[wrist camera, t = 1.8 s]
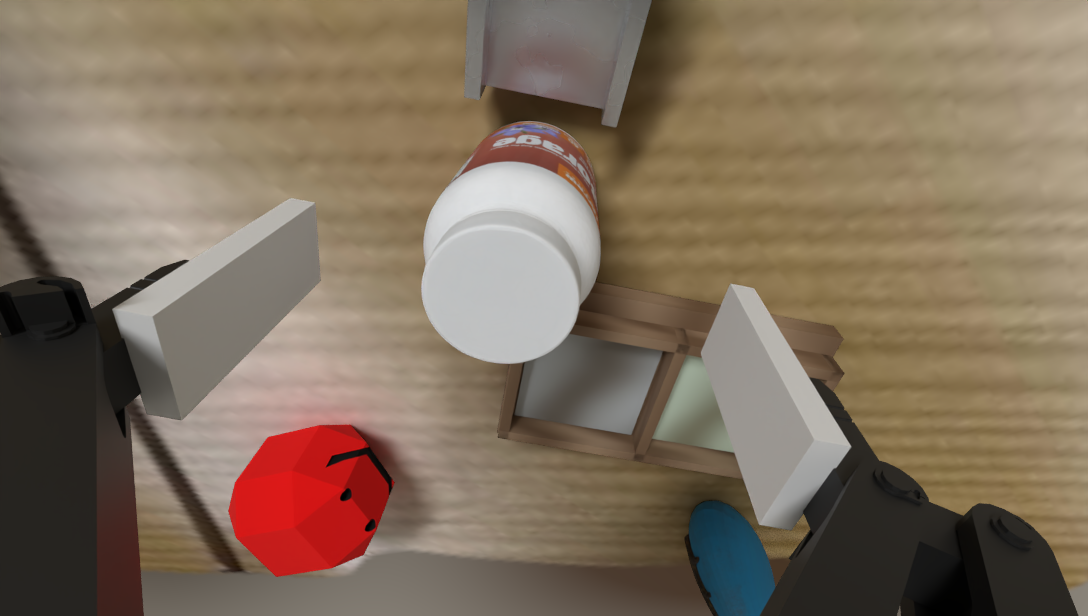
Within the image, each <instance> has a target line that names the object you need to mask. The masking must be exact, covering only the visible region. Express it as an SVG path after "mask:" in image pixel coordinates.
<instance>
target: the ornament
mask: <svg viewBox="0 0 1088 616" xmlns="http://www.w3.org/2000/svg"><path fill="white" fill-rule="evenodd" d="M685 544H686V548H687V552H688V556H689V560H690V564H691V567H692V570H693V573H694V576H695V579H696V581H697V584H698V586H699V588H700V591H701V593H702V595H703V597H704V599H705V601H706V603H707V605H708V607H709V609H710V611H711V612H712V614H713V615H714V616H760V614H761V612H762V610H763V609H764V607H765V605H766V603H767V602H768V600H769V598H770V596H771V595H772V593H773V591H774V589H775V583H774V578H773V574H772V570H771V566H770V563H769V560H768V557H767V555H766V552H765V550H764V548H763V545H762V543H761V541H760V539H759V538H758V536H757V534H756V533H755V531H754V530H753V528H752V527H751V525H750V524H749V522H748V521H747V520H746V519H745V518H744V517H743V516H742V515H741V514H739V513H738V512H737V511H736V510H735V509H734V508H732V507H731V506H730V505H728V504H725V503H723V502H720V501H705V502H702V503H701V504H699V505H697V506H696V508H695V509H694V511H693V513H692V514H691V519H690V523H689V534H688V535H686V536H685Z"/></svg>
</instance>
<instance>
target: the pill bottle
mask: <svg viewBox="0 0 1088 616" xmlns="http://www.w3.org/2000/svg"><path fill="white" fill-rule="evenodd" d="M423 246H424V257H425V263H426V266H425V270H424V274H423V278H422V287H421V289H422V299H423V304H424V307H425V310H426V313H427V316H428V318H429V320H430V322H431V323H432V325H433V326H434V328H435V329H436V331H437V332H438V333H439V334H440V335H441V336H442V337H443V338H444V339H445V340H446V341H447V342H448V343H449V344H451V345H452V346H453V347H455V348H456V349H458V350H459V351H461V352H463V353H465V354H466V355H469V356H471V357H474V358H477V359H480V360H483V361H487V362H493V363H502V364H513V363H522V362H526V361H531V360H533V359H536V358H539V357H541V356H543V355H545V354H547V353H549V352H550V351H552V350H553V349H555V348H556V347H557V346H558V345H560V344H561V343H562V342H563V340H564V339H565V338H566V337H567V336H568V334H569V333H570V332H571V330H572V328H573V326H574V324H575V322H576V319H577V316H578V312H579V307H580V305H581V304H582V302H583V301H584V300H585V299H586V297H587V296H588V294H589V293H590V291H591V289H592V287H593V285H594V283H595V281H596V278H597V275H598V271H599V267H600V257H601V241H600V228H599V218H598V208H597V194H596V181H595V175H594V171H593V168H592V164H591V162H590V160H589V158H588V156H587V154H586V152H585V151H584V149H583V148H582V147H581V145H580V144H579V143H578V142H577V141H576V140H575V139H574V138H573V137H572V136H570V135H569V134H568V133H566V132H565V131H563V130H561V129H560V128H558V127H556V126H553V125H550V124H547V123H542V122H535V121H522V122H515V123H511V124H508V125H505V126H503V127H501V128H499V129H497V130H495V131H494V132H492V133H491V134H489V135H488V136H487V137H486V138H485V139H484V140H483V141H482V142H481V143H480V144H479V145H478V146H477V148H476V149H475V150H474V152H473V153H472V154H471V156H470V157H469V158H468V160H467V161H466V162H465V164H464V165H463V166H462V168H461V169H460V170H459V172H458V173H457V174H456V175H455V177H454V178H453V179H452V181H451V182H450V183H449V185H448V186H447V187H446V188H445V190H444V191H443V193H442V194H441V195H440V197H439V198H438V200H437V202H436V203H435V205H434V207H433V208H432V210H431V213H430V215H429V217H428V220H427V224H426V228H425V234H424V245H423Z"/></svg>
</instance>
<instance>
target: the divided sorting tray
mask: <svg viewBox="0 0 1088 616" xmlns="http://www.w3.org/2000/svg"><path fill="white" fill-rule="evenodd" d="M720 307H721V305H716V304H711V303H705V302H700V301H694V300H689V299H684V298H678V297H673V296H667V295H662V294H657V293H651V292H646V291H640V290H635V289H630V288H624V287H619V286H613V285H608V284H603V283H597V282H595V283H594V285H593V287H592V289H591V291H590V293H589V294H588V296H587V297H586V299H585V300H584V301H583V302H582V304H581V305H580V307H579V312H578V316H577V319H576V322H575V324H574V326H573V328H572V330H571V332H570V333H569V334H568V336H567V337H566V338H565V339H564V340H563V342H562V343H561V344H560V345H558V346H557V347H556V348H555V349H553V350H552V351H550V352H549V353H547V354H545V355H543V356H541V357H539V358H536V359H533V360H531V361H526V362H522V363H513V364H509V368H508V374H507V380H506V385H505V391H504V396H503V402H502V408H501V413H500V419H499V424H498V430H497V433H498V438H502V439H508V440H514V441H520V442H526V443H532V444H538V445H544V446H550V447H556V448H562V449H567V450H573V451H579V452H585V453H591V454H597V455H603V456H609V457H615V458H621V459H627V460H632V461H638V462H644V463H650V464H656V465H662V466H668V467H674V468H680V469H686V470H692V471H697V472H703V473H709V474H715V475H721V476H727V477H733V478H739V479H743V476H742V473H741V470H740V467H739V465H738V462H737V459H736V456H735V453H734V450H733V447H732V444H731V441H730V438H729V435H728V432H727V429H726V426H725V423H724V420H723V418H722V415H721V412H720V409H719V406H718V403H717V400H716V397H715V394H714V391H713V388H712V385H711V382H710V379H709V376H708V373H707V370H706V368H705V365H704V362H703V359H702V356H701V351H702V349H703V346H704V344H705V342H706V339H707V337H708V335H709V332H710V330H711V328H712V325H713V323H714V321H715V318H716V316H717V314H718V311H719V309H720ZM771 317H772V319H773V320H774V322H775V323H776V325H777V327H778V328H779V330H780V332H781V333H782V335H783V336H784V338H785V340H786V341H787V343H788V345H789V346H790V348H791V349H792V351H793V353H794V354H795V356H796V358H797V359H798V361H799V362H800V364H801V366H802V367H803V369H804V371H805V372H806V374H807V375H808V377H811V378H816V379H819V380H820V381H822V382H823V383H824V384H825V385H826V386H827V387H828V388H829V389H831V390H832V391H834V389H835V387H836V386H837V384H838V383H839V381H840V380H841V378H842V377H843V375H844V372H843V371H842V369H841V368H840V367H839V365H838V364H837V363H836V361H835V360H834V359H833V356H834V354H835V352H836V351H837V349H838V347H839V346H840V344H841V343H842V341H843V337H842V336H841V335H840V334H839V332H838V331H837V330H836V329H835V327H834V326H829V325H824V324H819V323H813V322H808V321H802V320H797V319H792V318H786V317H781V316H775V315H771Z"/></svg>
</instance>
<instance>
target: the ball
mask: <svg viewBox="0 0 1088 616" xmlns="http://www.w3.org/2000/svg"><path fill="white" fill-rule="evenodd" d="M394 483H395V482H394V481H393V480H392V478H391V477H390V476H389V474H388V473H387V471H386V470H385V468H384V467H383V466H382V464H381V463H380V461H379V460H378V459H377V457H376V456H375V454H374V453H373V452H372V450H371V449H370V447H369V446H368V444H367V443H366V442H365V441H364V439H363V438H362V437H361V436H360V435H359V434H358V433H357V432H356V431H355V429H354V428H353V427H352V426H351V425H319V426H314V427H310V428H306V429H301V430H297V431H293V432H288V433H284V434H280V435H275V436H271V437H268V438H267V439H266V440H265V442H264V443H263V445H262V446H261V447H260V449H259V450H258V452H257V453H256V454H255V456H254V457H253V458H252V460H251V461H250V463H249V464H248V465H247V467H246V468H245V470H244V471H243V472H242V474H241V475H240V476H239V478H238V479H237V481H236V482H235V485H234V489H233V494H232V498H231V502H230V506H229V510H228V512H229V515H230V519H231V522H232V525H233V529H234V532H235V536H236V538H237V539H238V540H239V541H240V542H241V543H242V544H243V545H244V546H245V547H246V548H247V549H248V550H249V551H250V552H251V553H252V554H253V555H254V556H255V557H256V558H257V559H258V560H259V561H260V562H262V563H263V564H264V565H265V566H266V567H267V568H268V569H269V570H270V571H271V572H272V573H273V574H274V575H275V576H276V577H278V576H285V575H291V574H297V573H304V572H310V571H317V570H323V569H329V568H333V567H336V566H338V565H341V564H343V563H345V562H348V561H350V560H352V559H355V558H357V557H359V556H362V555H364V553H365V551H366V549H367V547H368V545H369V543H370V541H371V539H372V537H373V535H374V533H375V532H376V530H377V527H378V524H379V522H380V519H381V516H382V514H383V511H384V509H385V506H386V503H387V501H388V498H389V495H390V492H391V490H392V488H393V485H394Z"/></svg>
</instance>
